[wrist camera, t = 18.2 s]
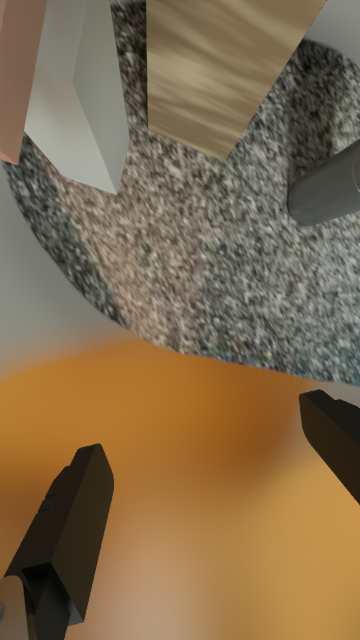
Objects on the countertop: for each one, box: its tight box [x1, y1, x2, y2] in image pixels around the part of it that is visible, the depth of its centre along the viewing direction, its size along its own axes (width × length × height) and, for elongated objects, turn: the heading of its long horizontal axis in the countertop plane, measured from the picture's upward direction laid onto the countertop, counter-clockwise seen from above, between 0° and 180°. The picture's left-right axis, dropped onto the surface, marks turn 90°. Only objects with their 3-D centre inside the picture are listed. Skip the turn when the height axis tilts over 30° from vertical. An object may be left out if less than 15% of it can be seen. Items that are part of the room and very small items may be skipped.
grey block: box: [24, 0, 130, 195], centre depth 26 cm, size 9×9×23 cm
